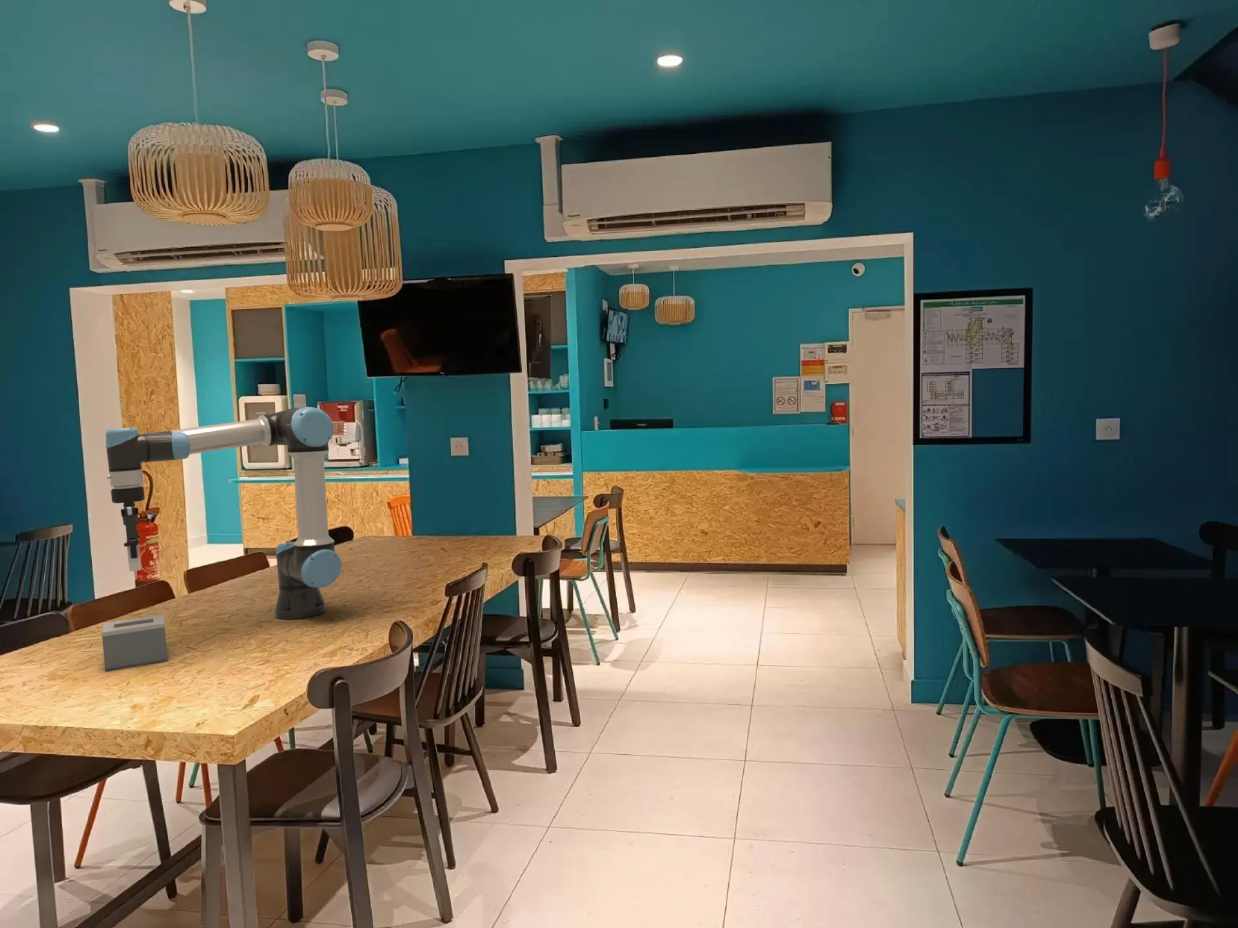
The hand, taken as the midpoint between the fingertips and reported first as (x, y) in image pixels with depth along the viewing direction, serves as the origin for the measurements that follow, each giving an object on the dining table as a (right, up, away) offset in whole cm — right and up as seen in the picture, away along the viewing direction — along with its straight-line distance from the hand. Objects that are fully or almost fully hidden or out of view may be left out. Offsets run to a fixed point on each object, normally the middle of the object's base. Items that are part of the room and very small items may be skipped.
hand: (135, 566), depth 224 cm
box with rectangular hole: (+1, -25, -1) cm, 25 cm away
